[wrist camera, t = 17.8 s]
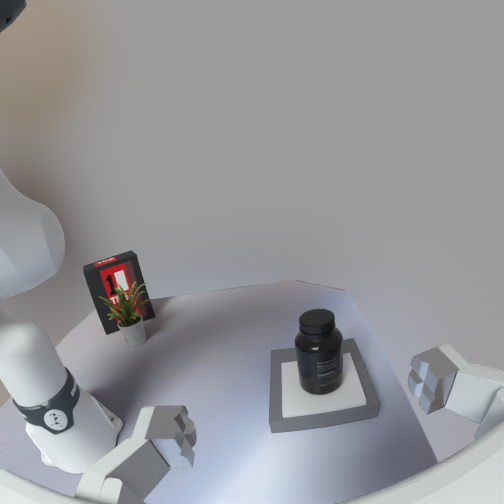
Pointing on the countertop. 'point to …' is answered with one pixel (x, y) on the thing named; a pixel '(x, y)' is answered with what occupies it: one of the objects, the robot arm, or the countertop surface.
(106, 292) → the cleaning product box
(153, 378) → the countertop surface
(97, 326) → the countertop surface
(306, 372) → the supplement bottle
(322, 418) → the kitchen scale
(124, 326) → the house plant
